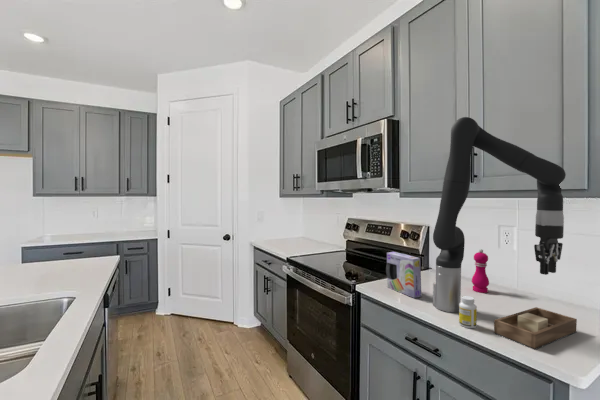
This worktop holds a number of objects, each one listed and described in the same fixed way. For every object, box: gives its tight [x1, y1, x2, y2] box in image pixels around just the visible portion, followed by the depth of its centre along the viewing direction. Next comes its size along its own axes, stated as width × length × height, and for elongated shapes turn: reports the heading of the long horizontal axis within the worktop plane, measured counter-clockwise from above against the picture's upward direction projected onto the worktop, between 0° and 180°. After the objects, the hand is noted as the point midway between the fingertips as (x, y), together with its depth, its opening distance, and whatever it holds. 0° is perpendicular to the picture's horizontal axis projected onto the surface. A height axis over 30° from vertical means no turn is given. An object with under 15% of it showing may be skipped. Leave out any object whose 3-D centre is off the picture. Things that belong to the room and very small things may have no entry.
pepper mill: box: [471, 248, 490, 294], centre depth 148 cm, size 7×7×20 cm
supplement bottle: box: [458, 295, 478, 329], centre depth 109 cm, size 5×5×10 cm
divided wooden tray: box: [493, 306, 578, 350], centre depth 104 cm, size 12×26×4 cm, turn 118°
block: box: [518, 313, 548, 332], centre depth 103 cm, size 6×6×4 cm
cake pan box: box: [385, 251, 422, 299], centre depth 145 cm, size 19×5×18 cm, turn 23°
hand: (547, 273), depth 107 cm, fingers open, 4 cm apart
